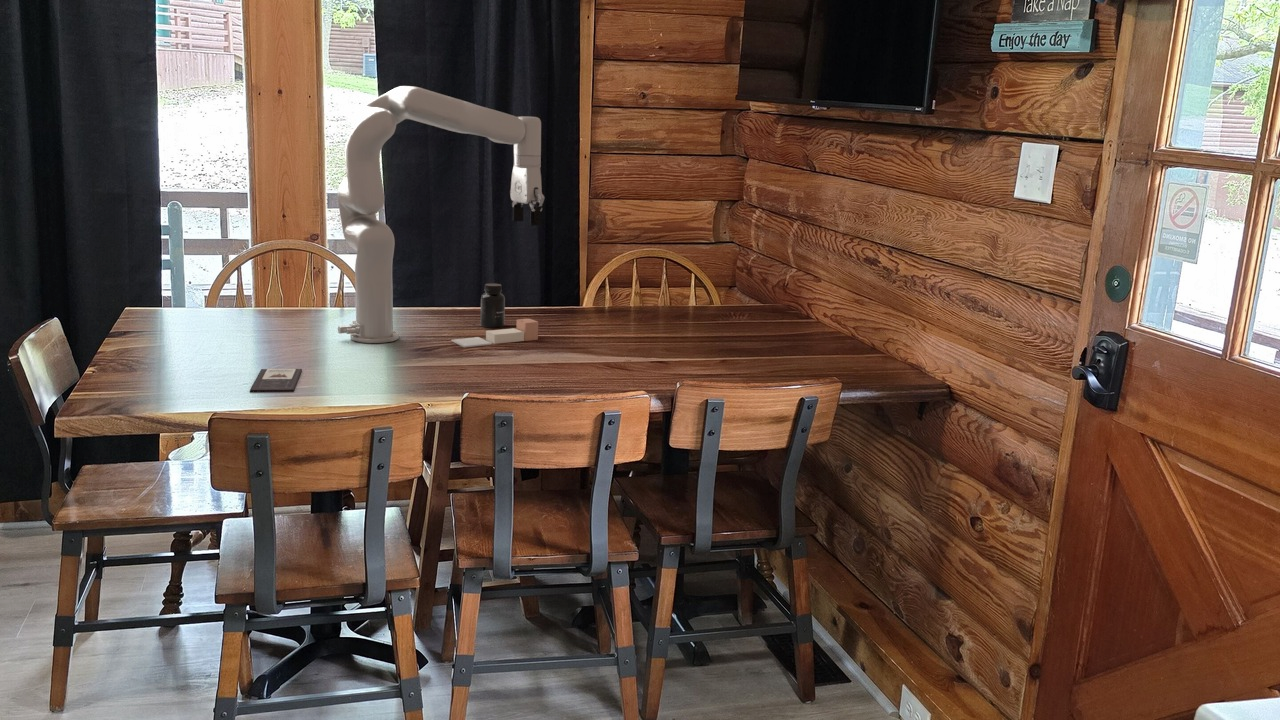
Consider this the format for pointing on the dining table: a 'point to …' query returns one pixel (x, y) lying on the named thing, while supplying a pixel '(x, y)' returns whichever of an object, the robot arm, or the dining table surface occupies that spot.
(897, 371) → the dining table surface
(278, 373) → the chocolate bar
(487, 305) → the supplement bottle
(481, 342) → the mat
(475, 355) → the dining table surface
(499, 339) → the cream rectangular block
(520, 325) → the tan wooden block
